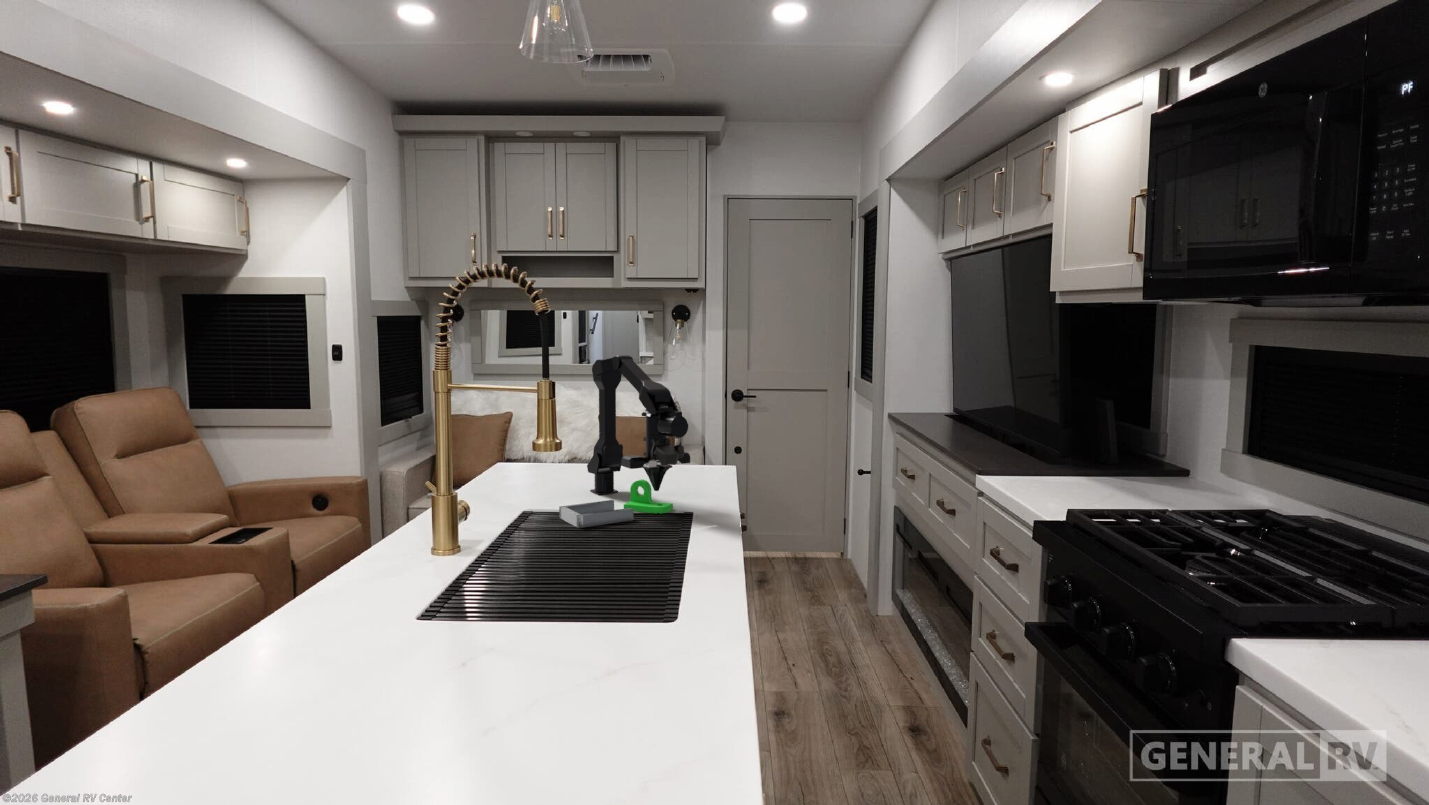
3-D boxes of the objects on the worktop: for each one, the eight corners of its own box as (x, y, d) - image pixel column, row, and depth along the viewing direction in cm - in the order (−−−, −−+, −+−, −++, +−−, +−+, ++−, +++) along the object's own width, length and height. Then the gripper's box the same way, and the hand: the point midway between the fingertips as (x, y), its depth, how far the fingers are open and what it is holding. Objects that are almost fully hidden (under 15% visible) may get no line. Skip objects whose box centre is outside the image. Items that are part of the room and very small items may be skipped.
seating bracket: (559, 517, 194) (559, 506, 194) (612, 510, 203) (612, 500, 203) (578, 528, 184) (578, 516, 184) (633, 520, 193) (633, 508, 192)
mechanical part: (623, 511, 203) (623, 482, 203) (633, 507, 209) (633, 478, 208) (664, 515, 199) (664, 485, 198) (672, 510, 205) (673, 481, 204)
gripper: (640, 439, 190) (640, 500, 191) (701, 435, 200) (701, 492, 202) (620, 434, 199) (620, 492, 200) (680, 430, 209) (679, 485, 211)
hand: (656, 490), depth 203 cm, fingers closed
